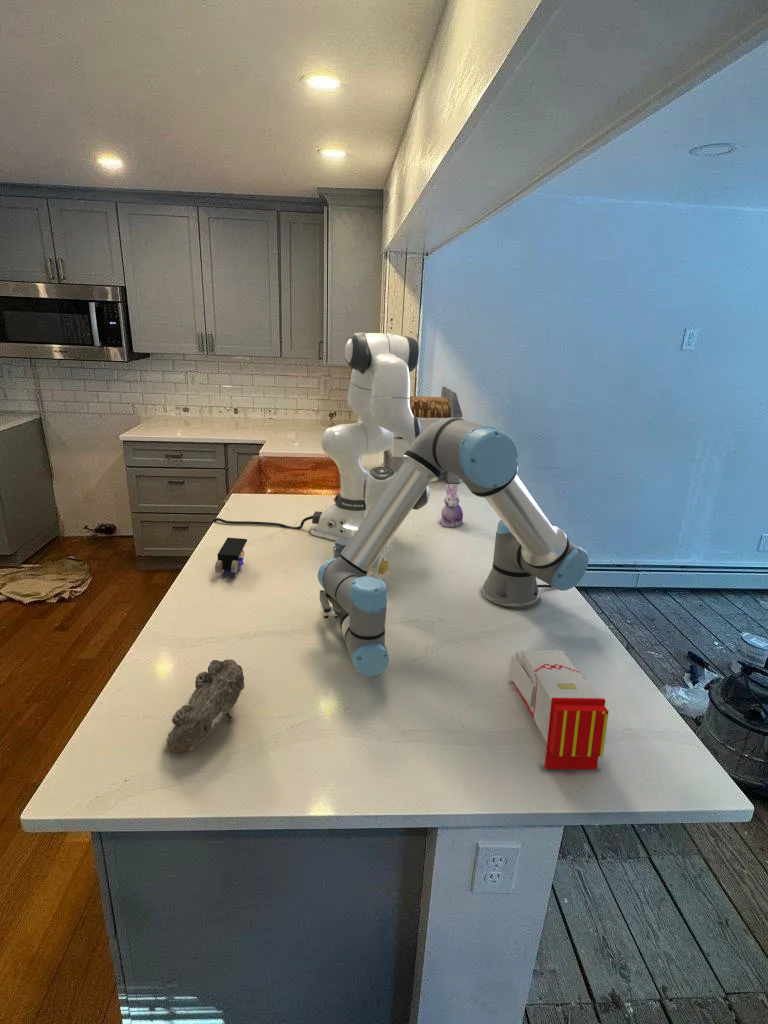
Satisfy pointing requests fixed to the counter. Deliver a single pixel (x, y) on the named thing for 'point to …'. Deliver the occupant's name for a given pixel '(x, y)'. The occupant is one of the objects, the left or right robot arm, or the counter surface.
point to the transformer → (425, 425)
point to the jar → (339, 550)
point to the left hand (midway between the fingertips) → (378, 570)
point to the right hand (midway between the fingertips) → (339, 579)
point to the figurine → (451, 508)
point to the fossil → (206, 705)
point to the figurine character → (230, 556)
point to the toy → (561, 708)
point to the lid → (382, 567)
